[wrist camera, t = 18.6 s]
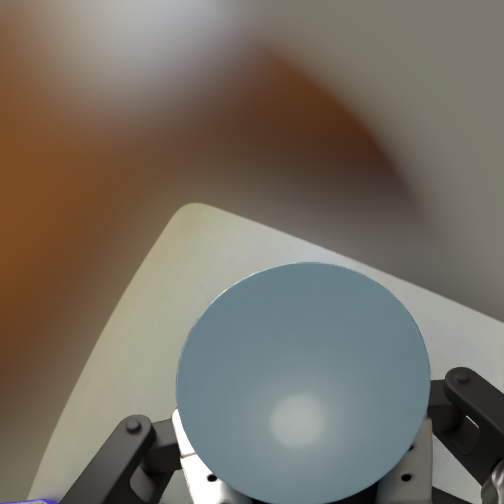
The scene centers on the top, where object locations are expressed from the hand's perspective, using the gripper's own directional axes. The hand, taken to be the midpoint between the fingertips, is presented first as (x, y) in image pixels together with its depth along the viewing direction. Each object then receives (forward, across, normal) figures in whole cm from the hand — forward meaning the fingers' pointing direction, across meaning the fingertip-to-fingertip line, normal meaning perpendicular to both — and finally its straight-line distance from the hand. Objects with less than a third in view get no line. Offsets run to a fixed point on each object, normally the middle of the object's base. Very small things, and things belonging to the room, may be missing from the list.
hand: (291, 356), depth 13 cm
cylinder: (+3, 0, +6) cm, 7 cm away
